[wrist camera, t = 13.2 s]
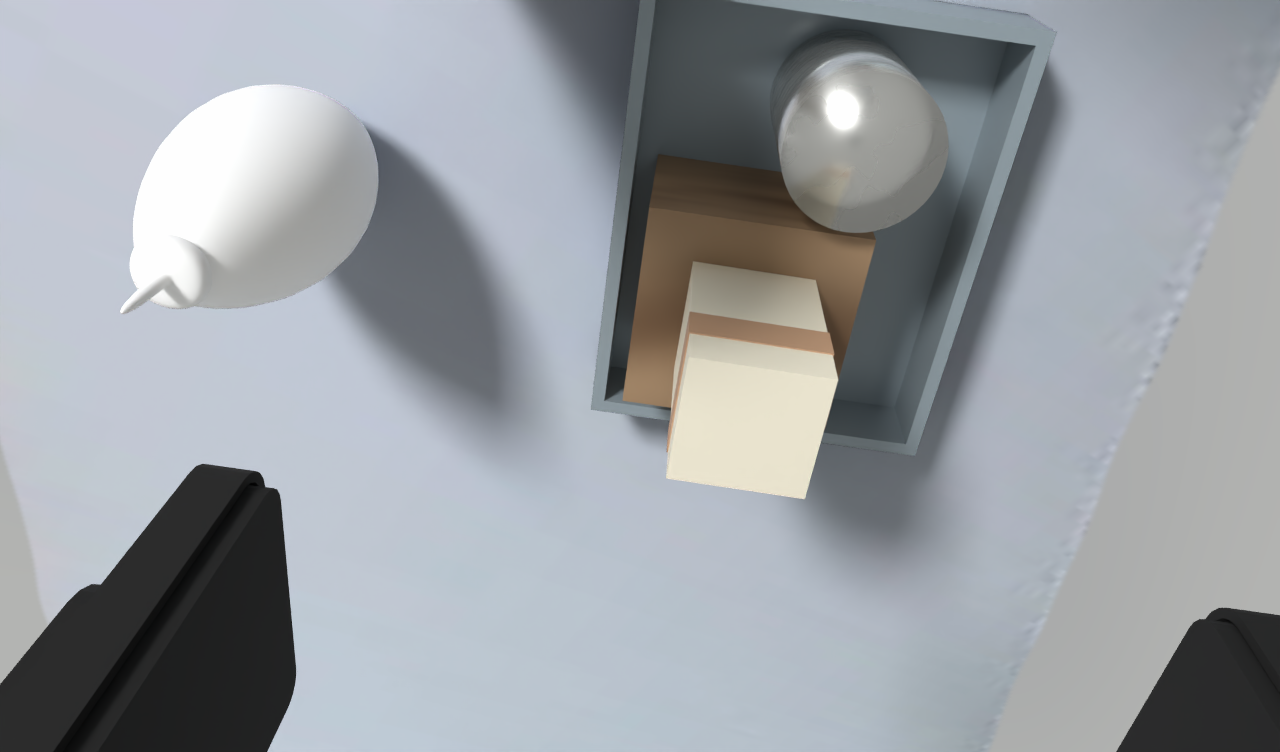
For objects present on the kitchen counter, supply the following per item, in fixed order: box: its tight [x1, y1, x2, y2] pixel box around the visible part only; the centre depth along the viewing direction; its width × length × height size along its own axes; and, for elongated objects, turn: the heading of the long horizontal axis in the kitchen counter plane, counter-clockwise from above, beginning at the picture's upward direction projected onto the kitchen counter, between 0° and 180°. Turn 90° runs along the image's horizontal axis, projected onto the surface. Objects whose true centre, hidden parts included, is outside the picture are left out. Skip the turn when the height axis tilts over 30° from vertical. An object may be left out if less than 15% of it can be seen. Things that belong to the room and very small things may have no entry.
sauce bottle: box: [120, 84, 379, 314], centre depth 37 cm, size 8×8×18 cm
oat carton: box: [666, 261, 838, 499], centre depth 36 cm, size 5×5×8 cm
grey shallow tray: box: [591, 0, 1057, 456], centre depth 43 cm, size 20×16×4 cm
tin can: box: [770, 29, 949, 233], centre depth 38 cm, size 6×6×8 cm
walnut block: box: [622, 154, 876, 430], centre depth 43 cm, size 9×9×7 cm
